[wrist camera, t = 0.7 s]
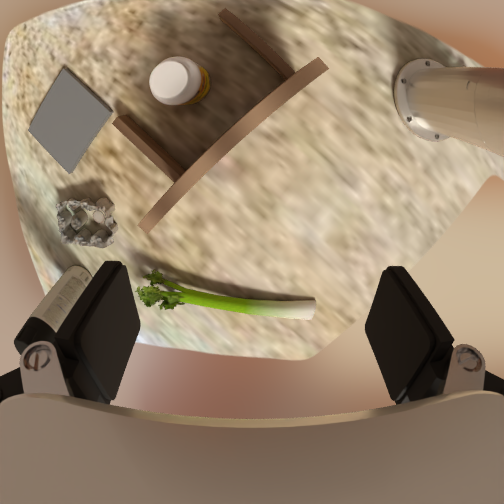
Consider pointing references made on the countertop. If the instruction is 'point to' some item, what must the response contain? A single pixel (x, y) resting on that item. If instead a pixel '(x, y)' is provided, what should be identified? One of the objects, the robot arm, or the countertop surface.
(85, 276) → the spray can
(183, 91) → the supplement bottle
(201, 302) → the green celery stalk
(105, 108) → the slate mat
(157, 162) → the walnut rack
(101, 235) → the egg carton
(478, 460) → the robot arm
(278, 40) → the countertop surface
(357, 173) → the countertop surface
